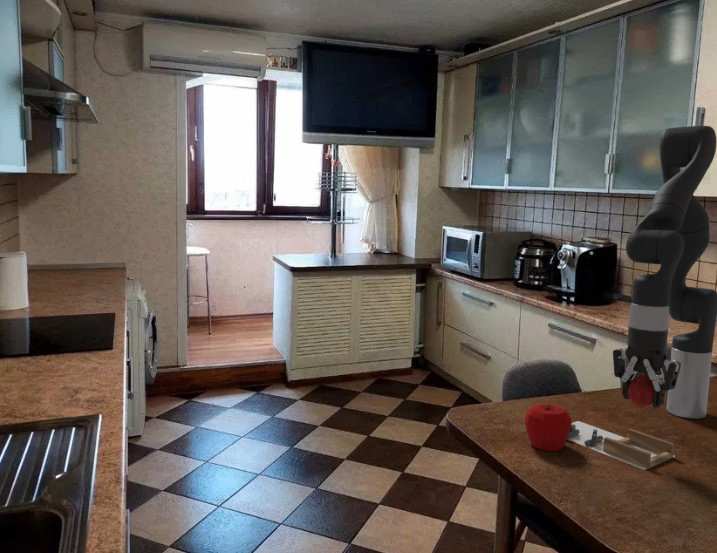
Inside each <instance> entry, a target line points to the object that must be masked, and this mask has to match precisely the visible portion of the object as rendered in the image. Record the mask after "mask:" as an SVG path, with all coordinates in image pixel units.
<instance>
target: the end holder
mask: <svg viewBox="0 0 717 553" xmlns="http://www.w3.org/2000/svg"><path fill="white" fill-rule="evenodd" d="M629 444H633V445H636V446H639V447H641V448H644V449H647V450H649V451H652V452H655V453H658V454H659V455H656V456H654V457H652V458H651V453H648V452H646V451H643V450H640V449H638V448H635V447H632V446H629ZM674 448H675V443H673V442H671V441H669V440H668V441H667V440H664V439H661V438H658V437H656V436H654V435H649V434H648V433H647V434H646V433H645V432H641V431H639V430H636V429H633V428H628V429H627V435H626V437H624V438H623V439H621V440H618V441H616V440H613V439H611V438H608V437H606V438H604V446H603V451H604V452H606V453H609V454H611V455H614V456H616V457H619V458H621V459H624V460H627V461H629V462H632V463H634V464H637V465H639V466H642V467H644V468H648V469H651V468H652V467H654V465H655V466H657V465H659V464H662V463H664V462H666V461H668V460H670V459H672V457H673V455H674V451H675V449H674ZM673 458H674V457H673ZM665 460H666V461H665ZM663 461H664V462H663ZM656 464H657V465H656Z"/></svg>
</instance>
